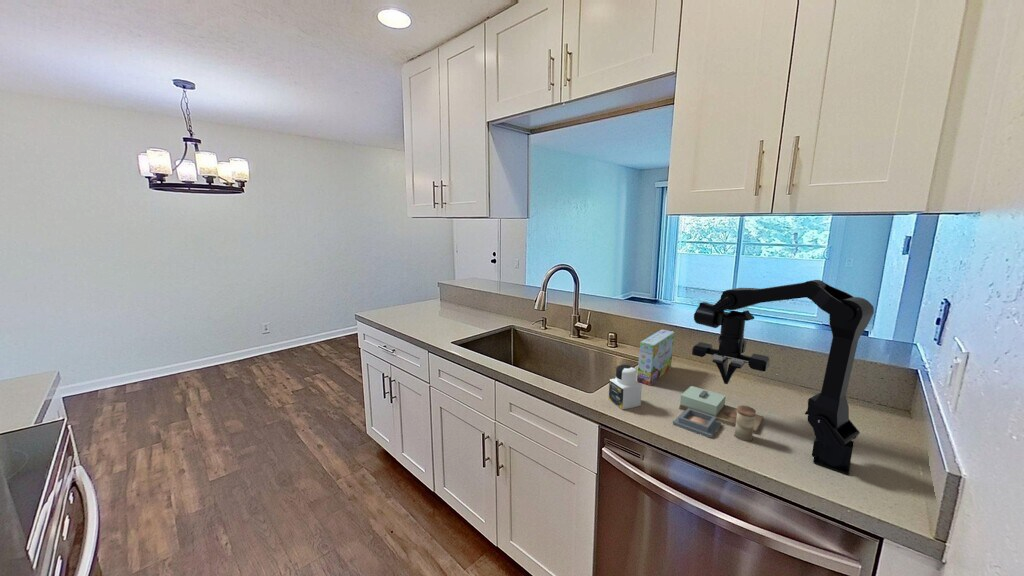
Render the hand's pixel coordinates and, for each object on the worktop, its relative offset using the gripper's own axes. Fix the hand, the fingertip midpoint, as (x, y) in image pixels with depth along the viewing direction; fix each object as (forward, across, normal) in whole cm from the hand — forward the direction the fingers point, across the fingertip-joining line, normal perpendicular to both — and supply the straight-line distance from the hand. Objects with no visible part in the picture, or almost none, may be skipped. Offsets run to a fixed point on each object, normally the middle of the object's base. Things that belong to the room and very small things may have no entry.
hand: (726, 383), depth 110 cm
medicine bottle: (+10, +25, +13) cm, 30 cm away
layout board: (+10, +1, 0) cm, 10 cm away
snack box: (+10, +27, -15) cm, 32 cm away
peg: (+10, -7, +9) cm, 15 cm away
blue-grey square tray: (+10, +4, +11) cm, 15 cm away
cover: (+9, +6, 0) cm, 10 cm away
